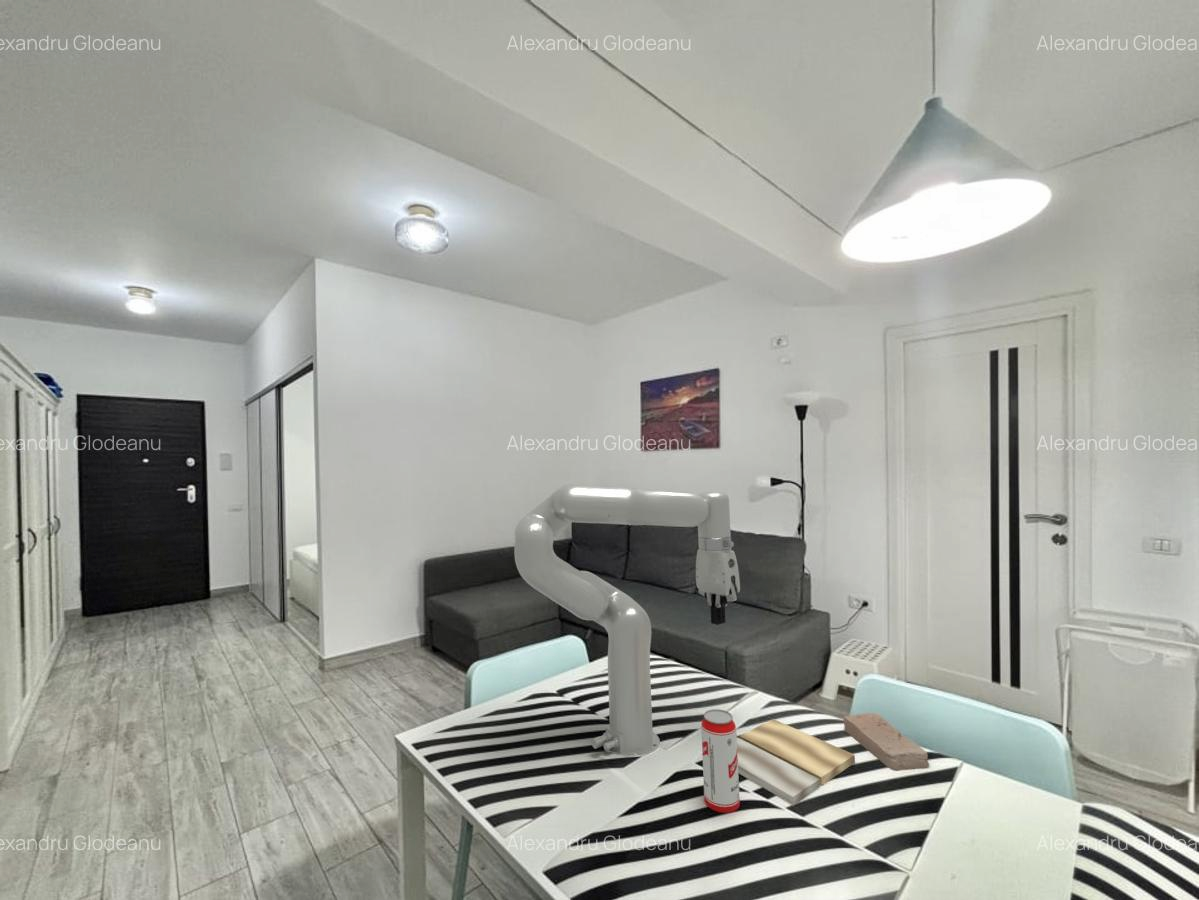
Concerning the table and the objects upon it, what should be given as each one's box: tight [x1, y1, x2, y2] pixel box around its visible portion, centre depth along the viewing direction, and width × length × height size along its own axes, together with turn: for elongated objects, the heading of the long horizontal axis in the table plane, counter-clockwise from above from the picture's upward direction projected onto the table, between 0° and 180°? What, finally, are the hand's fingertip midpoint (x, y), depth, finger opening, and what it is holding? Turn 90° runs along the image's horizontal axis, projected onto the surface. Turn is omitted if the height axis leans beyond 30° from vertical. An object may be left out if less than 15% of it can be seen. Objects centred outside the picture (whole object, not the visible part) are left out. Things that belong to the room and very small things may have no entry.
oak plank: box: [739, 718, 856, 786], centre depth 103 cm, size 12×19×2 cm, turn 35°
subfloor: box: [737, 737, 820, 806], centre depth 101 cm, size 24×20×2 cm
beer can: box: [700, 708, 741, 814], centre depth 89 cm, size 6×6×16 cm
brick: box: [843, 712, 930, 771], centre depth 104 cm, size 17×8×5 cm, turn 5°
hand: (718, 622), depth 115 cm, fingers closed
